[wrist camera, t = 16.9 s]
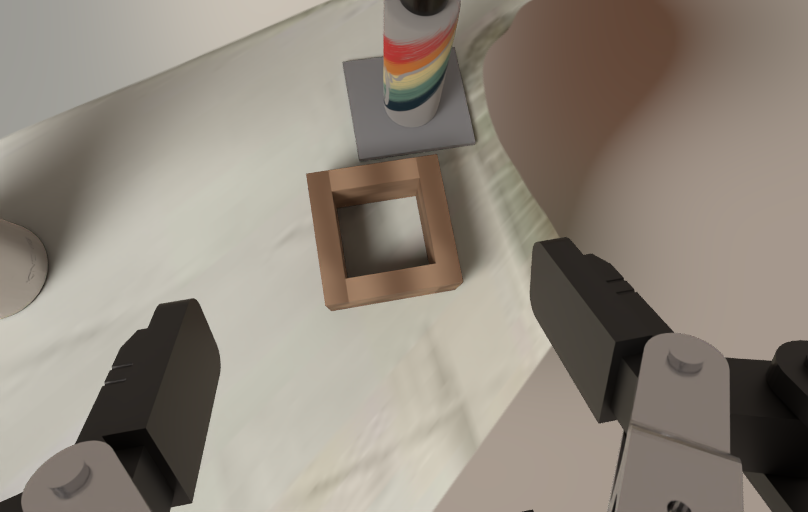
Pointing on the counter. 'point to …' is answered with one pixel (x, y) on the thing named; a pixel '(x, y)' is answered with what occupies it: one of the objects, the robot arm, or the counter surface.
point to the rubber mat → (391, 139)
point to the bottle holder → (373, 187)
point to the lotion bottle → (416, 57)
